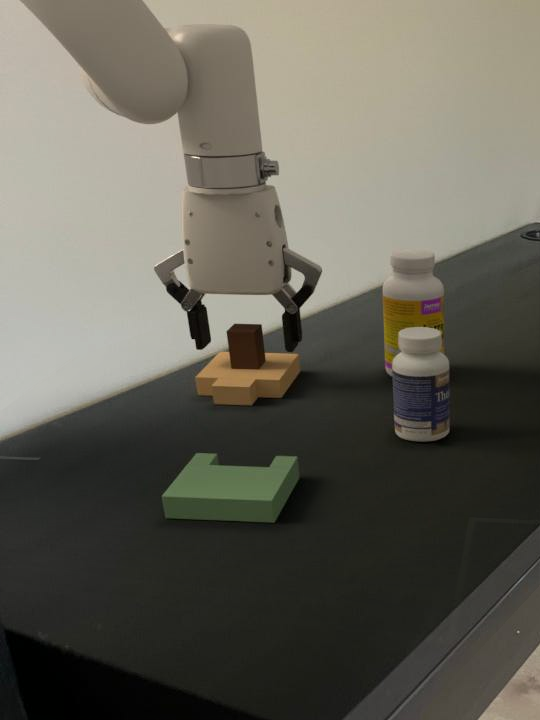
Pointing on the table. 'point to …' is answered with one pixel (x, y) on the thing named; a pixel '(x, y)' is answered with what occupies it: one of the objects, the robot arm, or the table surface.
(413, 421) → the pill bottle
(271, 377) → the tan pad
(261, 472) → the green pad
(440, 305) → the supplement bottle
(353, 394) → the table surface
